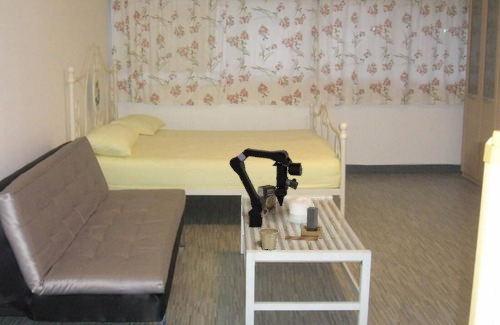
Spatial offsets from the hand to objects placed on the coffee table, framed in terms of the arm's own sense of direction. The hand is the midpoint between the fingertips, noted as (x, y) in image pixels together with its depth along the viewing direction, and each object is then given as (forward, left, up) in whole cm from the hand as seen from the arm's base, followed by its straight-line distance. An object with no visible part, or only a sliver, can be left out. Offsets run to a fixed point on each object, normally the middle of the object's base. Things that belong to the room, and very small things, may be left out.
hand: (281, 204), depth 312 cm
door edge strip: (+11, -18, -13) cm, 25 cm away
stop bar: (+16, -11, -13) cm, 23 cm away
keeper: (+16, -11, -13) cm, 23 cm away
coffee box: (-10, +27, -13) cm, 32 cm away
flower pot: (-4, -33, -13) cm, 36 cm away
